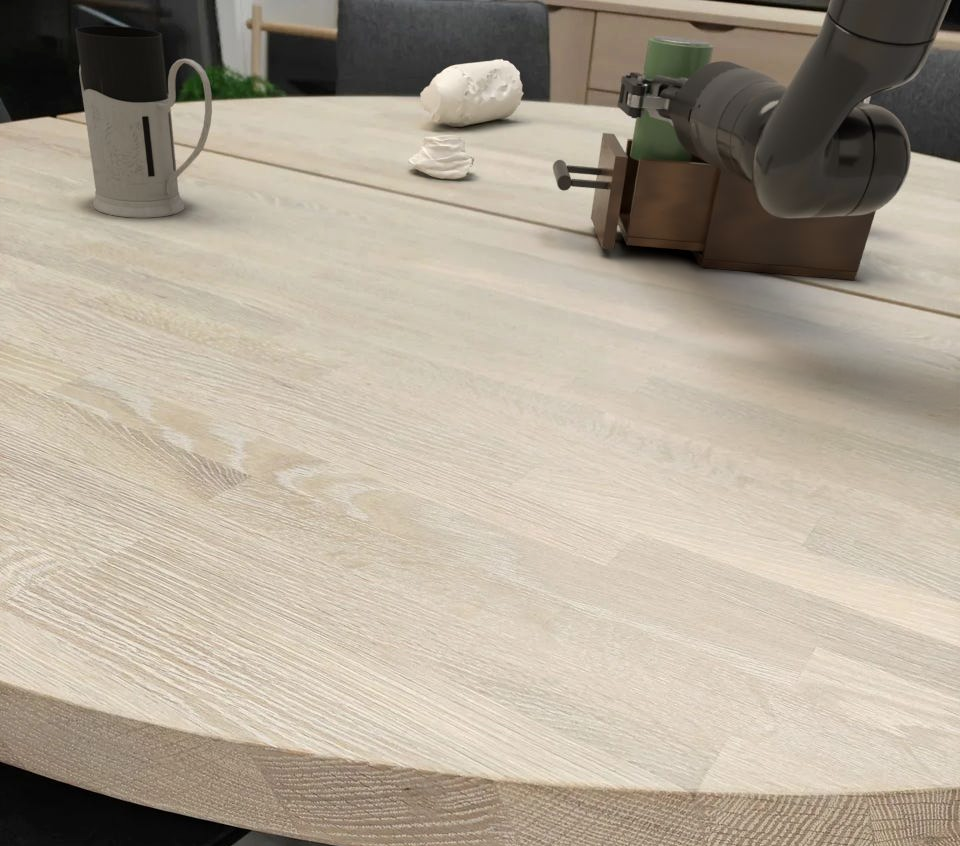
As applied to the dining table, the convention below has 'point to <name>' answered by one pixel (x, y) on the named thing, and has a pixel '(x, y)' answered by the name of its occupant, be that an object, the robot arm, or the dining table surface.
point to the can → (674, 61)
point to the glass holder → (133, 120)
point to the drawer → (646, 197)
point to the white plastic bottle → (473, 93)
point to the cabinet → (778, 237)
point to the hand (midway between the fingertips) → (663, 87)
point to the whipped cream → (443, 157)
